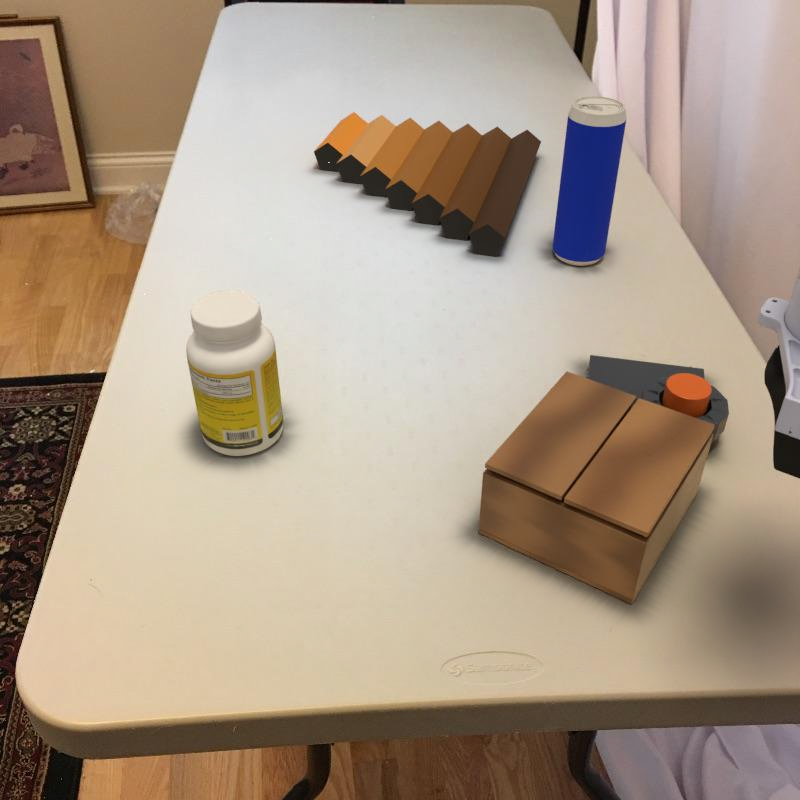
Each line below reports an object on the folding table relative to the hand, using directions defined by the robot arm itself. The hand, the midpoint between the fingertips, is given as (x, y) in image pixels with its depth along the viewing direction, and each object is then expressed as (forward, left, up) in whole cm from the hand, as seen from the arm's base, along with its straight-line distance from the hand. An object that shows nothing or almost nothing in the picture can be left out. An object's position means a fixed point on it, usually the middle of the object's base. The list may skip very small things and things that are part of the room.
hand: (795, 468), depth 50 cm
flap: (+7, -4, -5) cm, 10 cm away
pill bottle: (+36, -8, -11) cm, 38 cm away
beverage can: (+13, -41, -11) cm, 44 cm away
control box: (+6, -18, -10) cm, 21 cm away
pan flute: (+32, -52, -11) cm, 62 cm away
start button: (+4, -15, -8) cm, 17 cm away
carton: (+10, -5, -10) cm, 15 cm away
